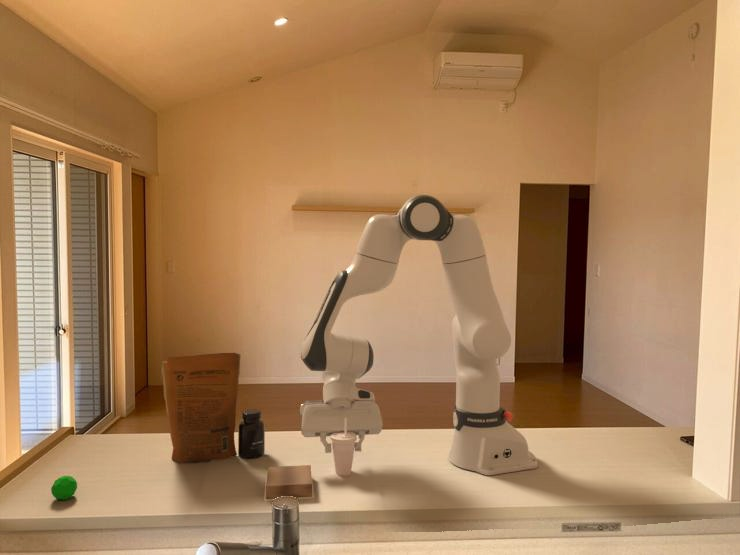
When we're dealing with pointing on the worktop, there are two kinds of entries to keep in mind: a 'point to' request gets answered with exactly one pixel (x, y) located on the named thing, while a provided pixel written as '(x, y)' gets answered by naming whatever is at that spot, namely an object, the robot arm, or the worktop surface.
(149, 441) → the worktop surface
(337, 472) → the smoothie
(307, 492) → the base block
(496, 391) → the robot arm
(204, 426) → the pancake mix bag
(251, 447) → the supplement bottle
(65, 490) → the polyhedron
